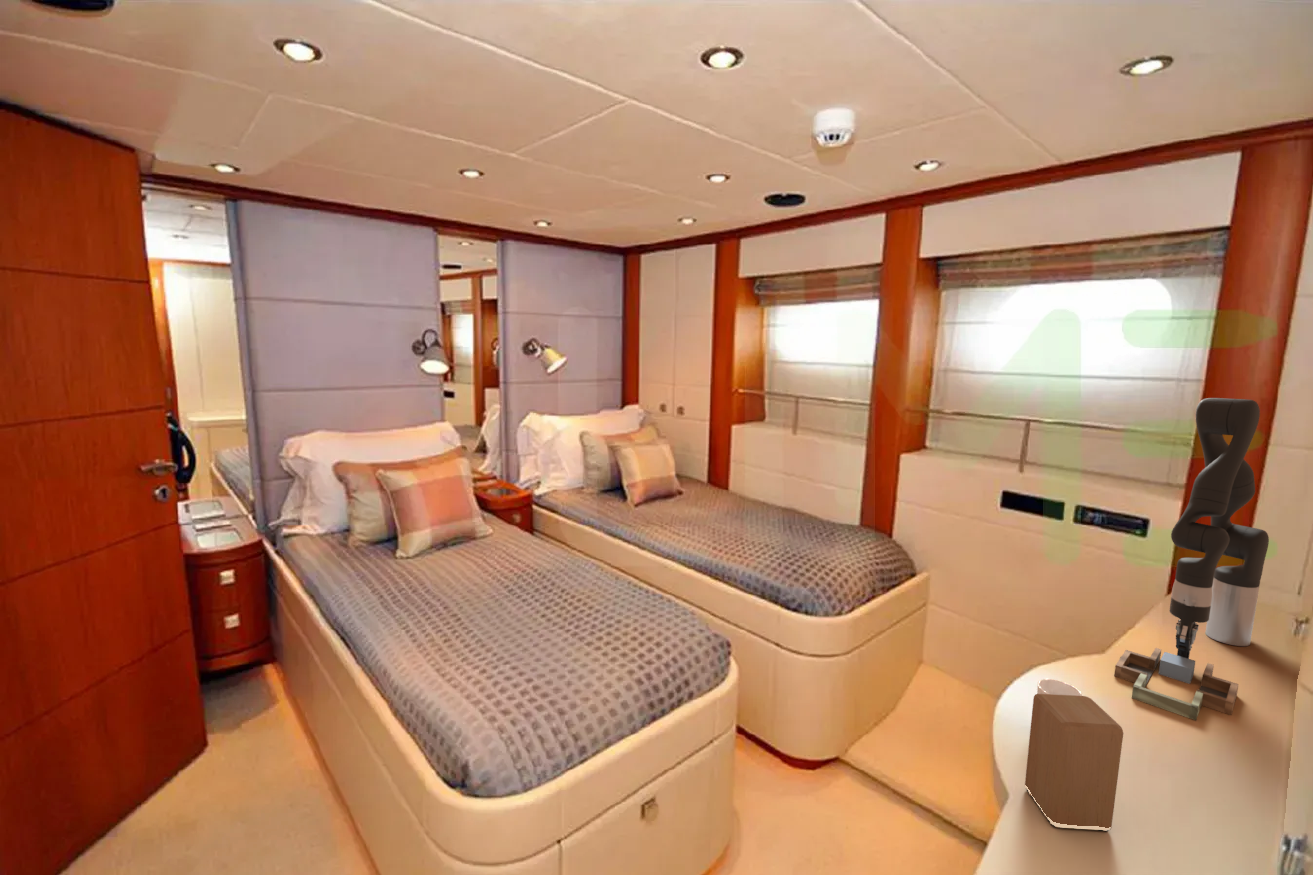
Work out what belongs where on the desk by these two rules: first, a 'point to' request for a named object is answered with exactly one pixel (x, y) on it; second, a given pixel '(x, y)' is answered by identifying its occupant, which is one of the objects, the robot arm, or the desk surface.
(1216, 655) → the desk surface
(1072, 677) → the desk surface
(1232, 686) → the box
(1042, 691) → the white cup
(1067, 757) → the wooden block
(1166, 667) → the slate block
